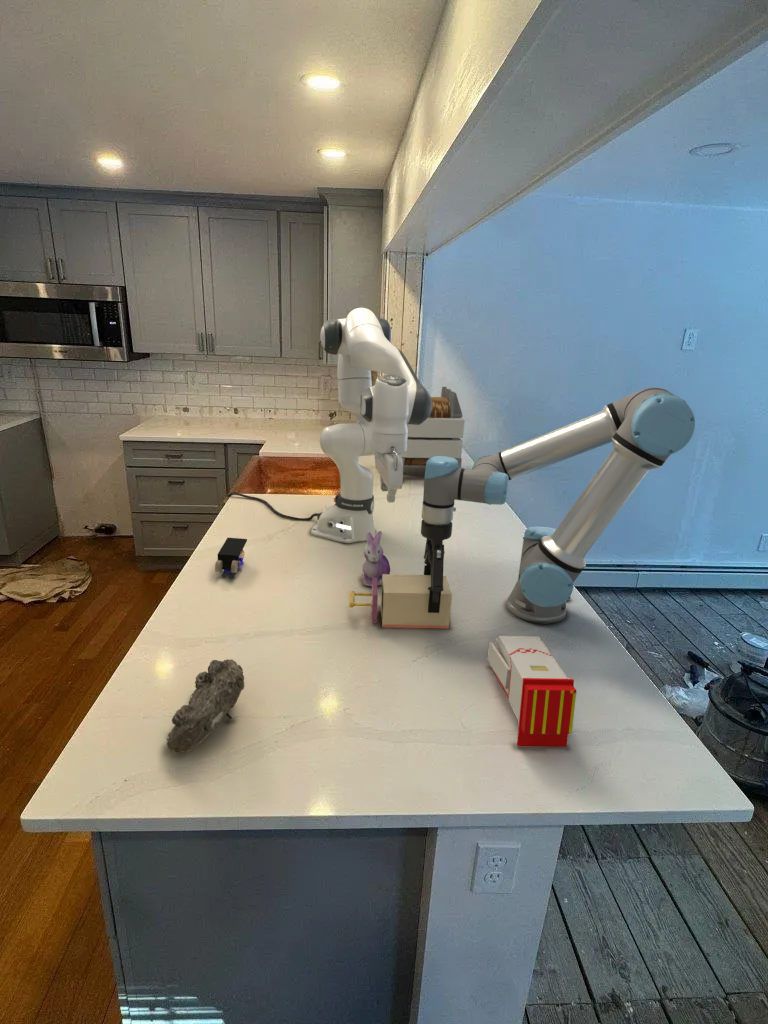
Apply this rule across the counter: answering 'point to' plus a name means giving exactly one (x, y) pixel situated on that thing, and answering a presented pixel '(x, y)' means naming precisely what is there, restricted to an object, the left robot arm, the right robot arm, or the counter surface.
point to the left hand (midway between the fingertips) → (387, 495)
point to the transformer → (436, 432)
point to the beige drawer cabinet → (413, 602)
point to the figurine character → (230, 556)
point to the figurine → (374, 560)
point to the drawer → (373, 601)
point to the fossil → (206, 705)
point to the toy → (534, 690)
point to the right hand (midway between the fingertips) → (430, 599)
